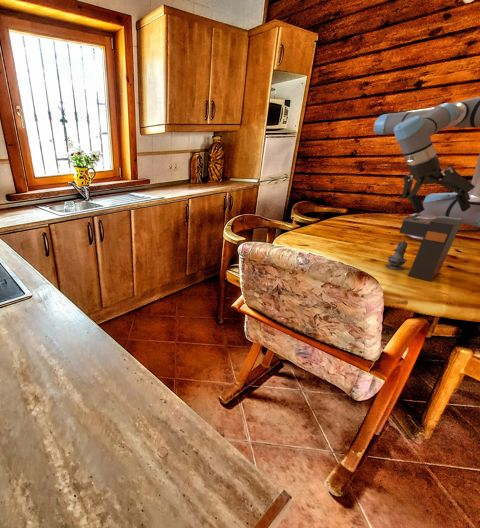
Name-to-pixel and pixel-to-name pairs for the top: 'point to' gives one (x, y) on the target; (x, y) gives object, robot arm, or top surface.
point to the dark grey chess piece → (398, 256)
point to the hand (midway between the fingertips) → (442, 210)
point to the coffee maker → (430, 242)
